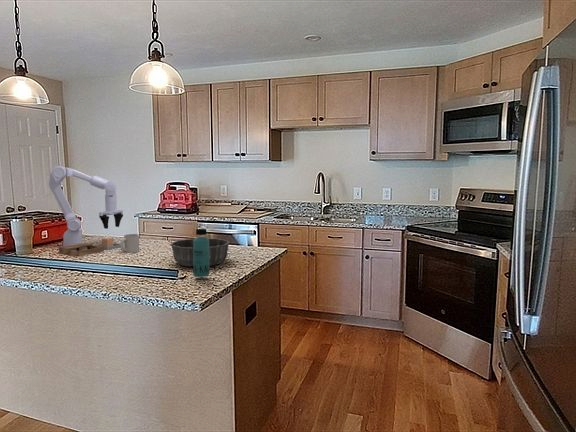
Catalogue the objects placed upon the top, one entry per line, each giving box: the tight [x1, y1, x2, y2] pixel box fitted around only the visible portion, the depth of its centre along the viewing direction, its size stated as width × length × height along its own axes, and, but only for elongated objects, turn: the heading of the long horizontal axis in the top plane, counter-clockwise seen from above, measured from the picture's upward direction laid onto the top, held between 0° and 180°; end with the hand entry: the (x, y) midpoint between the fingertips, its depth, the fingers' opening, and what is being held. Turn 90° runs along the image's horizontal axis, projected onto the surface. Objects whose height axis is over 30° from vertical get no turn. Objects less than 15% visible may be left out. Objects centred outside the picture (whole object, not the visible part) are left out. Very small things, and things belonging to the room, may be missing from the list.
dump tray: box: [94, 242, 121, 251], centre depth 217 cm, size 11×10×2 cm
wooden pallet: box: [58, 242, 105, 258], centre depth 203 cm, size 15×14×4 cm
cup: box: [119, 233, 140, 254], centre depth 207 cm, size 7×10×9 cm
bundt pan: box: [170, 237, 230, 267], centre depth 186 cm, size 26×26×10 cm
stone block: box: [101, 237, 114, 247], centre depth 216 cm, size 4×4×5 cm
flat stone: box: [77, 246, 87, 251], centre depth 208 cm, size 4×4×2 cm
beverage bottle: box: [192, 228, 211, 278], centre depth 159 cm, size 6×7×20 cm
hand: (111, 227), depth 225 cm, fingers open, 7 cm apart
